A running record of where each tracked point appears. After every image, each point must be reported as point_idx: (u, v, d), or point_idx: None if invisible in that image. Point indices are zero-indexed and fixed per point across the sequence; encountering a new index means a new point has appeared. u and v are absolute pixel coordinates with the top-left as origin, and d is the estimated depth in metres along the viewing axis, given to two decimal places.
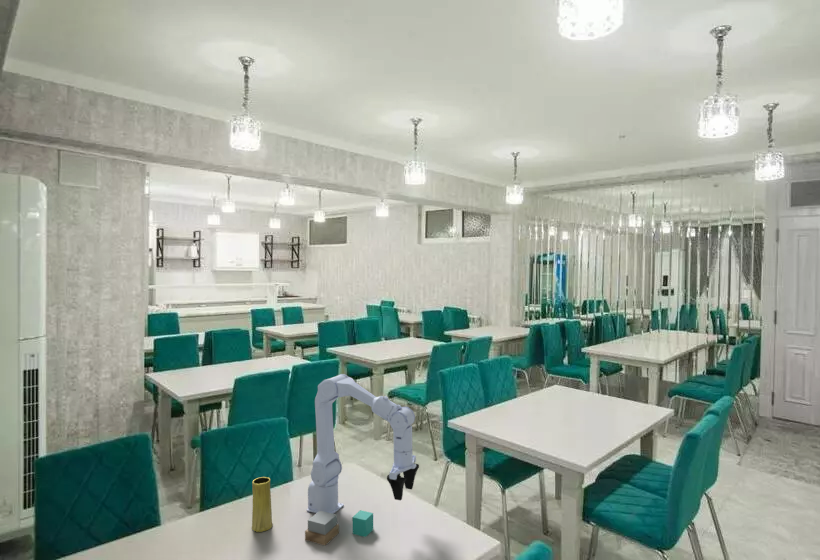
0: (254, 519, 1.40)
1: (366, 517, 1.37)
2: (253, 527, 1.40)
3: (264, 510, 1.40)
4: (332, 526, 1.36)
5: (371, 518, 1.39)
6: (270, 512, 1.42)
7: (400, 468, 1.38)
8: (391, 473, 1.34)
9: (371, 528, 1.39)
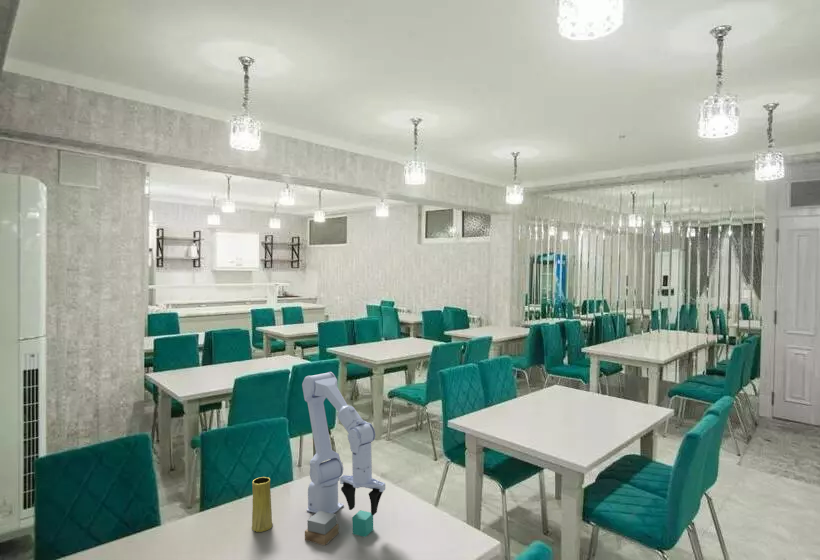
0: (254, 519, 1.40)
1: (366, 517, 1.37)
2: (253, 527, 1.40)
3: (264, 510, 1.40)
4: (332, 526, 1.36)
5: (371, 518, 1.39)
6: (270, 512, 1.42)
7: (352, 480, 1.39)
8: None
9: (371, 528, 1.39)
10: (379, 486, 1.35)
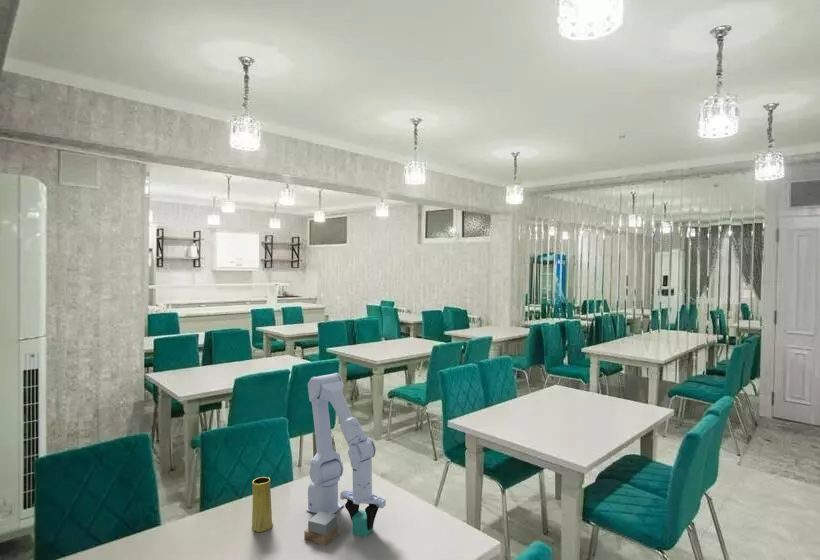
0: (254, 519, 1.40)
1: (366, 517, 1.37)
2: (253, 527, 1.40)
3: (264, 510, 1.40)
4: (332, 526, 1.36)
5: None
6: (270, 512, 1.42)
7: (352, 495, 1.39)
8: None
9: None
10: (379, 502, 1.35)
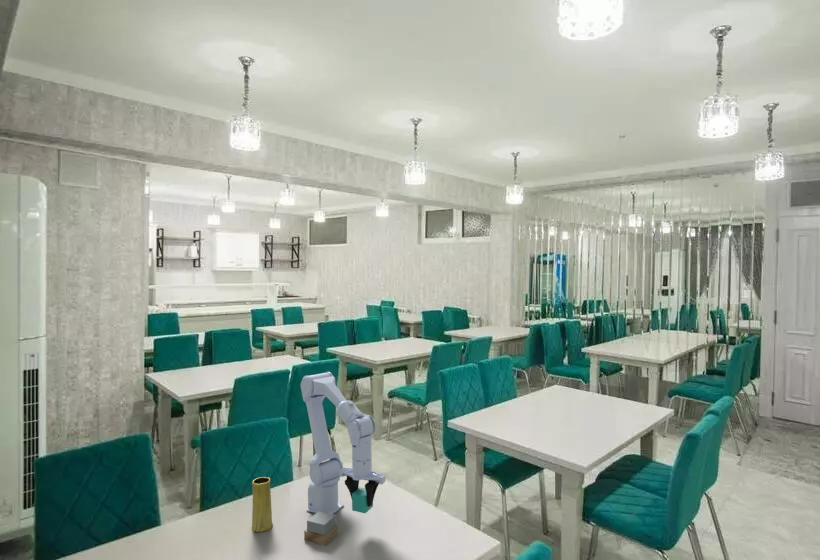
0: (254, 519, 1.40)
1: None
2: (253, 527, 1.40)
3: (264, 510, 1.40)
4: (331, 526, 1.36)
5: None
6: (270, 512, 1.42)
7: (352, 472, 1.39)
8: None
9: (371, 505, 1.39)
10: (379, 478, 1.35)
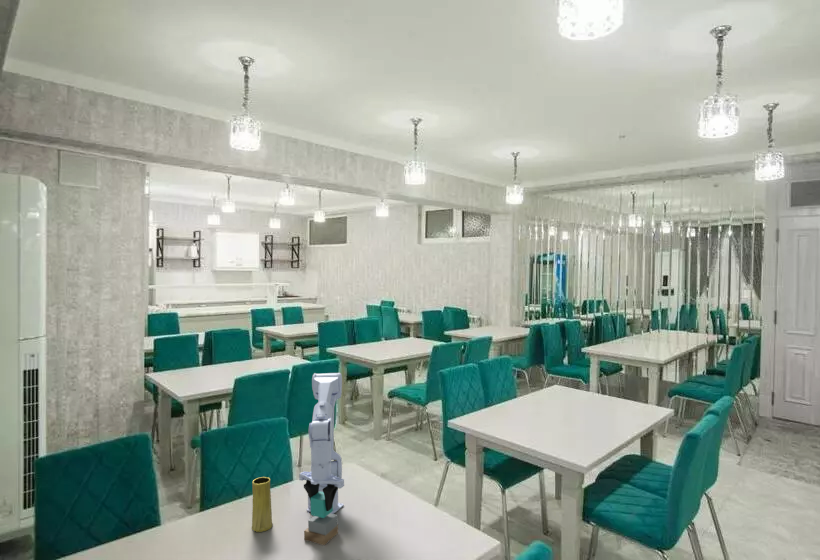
0: (254, 519, 1.40)
1: (324, 498, 1.35)
2: (253, 527, 1.40)
3: (264, 510, 1.40)
4: (333, 526, 1.36)
5: None
6: (270, 512, 1.42)
7: None
8: None
9: (330, 509, 1.36)
10: (337, 482, 1.33)
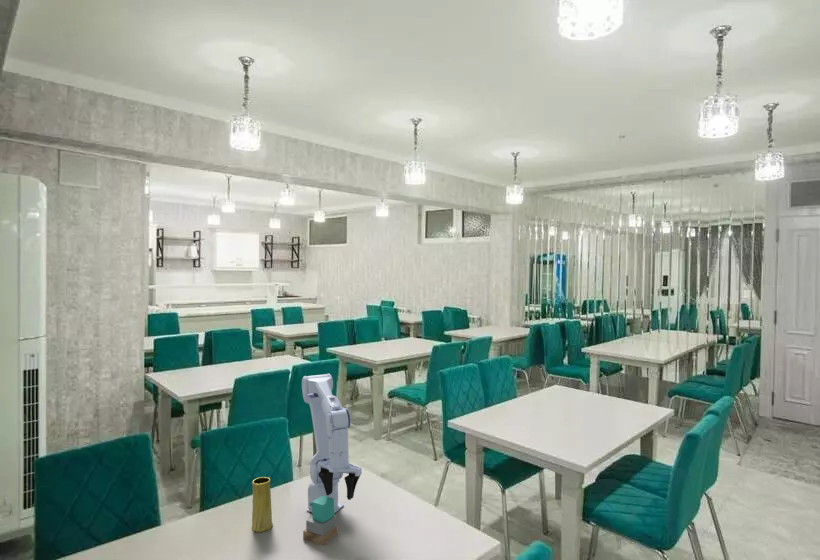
0: (254, 519, 1.40)
1: (325, 502, 1.35)
2: (253, 527, 1.40)
3: (264, 510, 1.40)
4: (330, 527, 1.35)
5: (331, 504, 1.36)
6: (270, 512, 1.42)
7: None
8: None
9: (331, 514, 1.36)
10: (355, 470, 1.36)
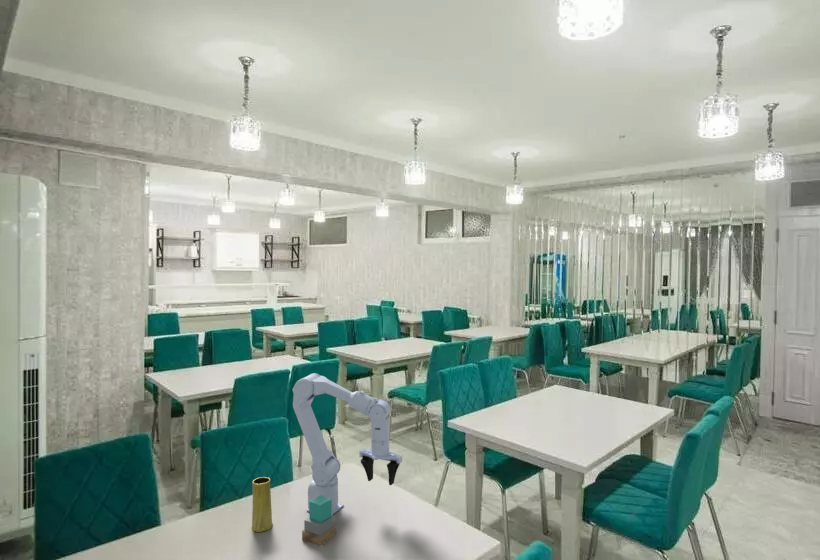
0: (254, 519, 1.40)
1: (322, 502, 1.35)
2: (253, 527, 1.40)
3: (264, 510, 1.40)
4: (328, 527, 1.35)
5: (328, 504, 1.36)
6: (270, 512, 1.42)
7: (371, 453, 1.49)
8: None
9: (328, 514, 1.36)
10: (396, 458, 1.45)
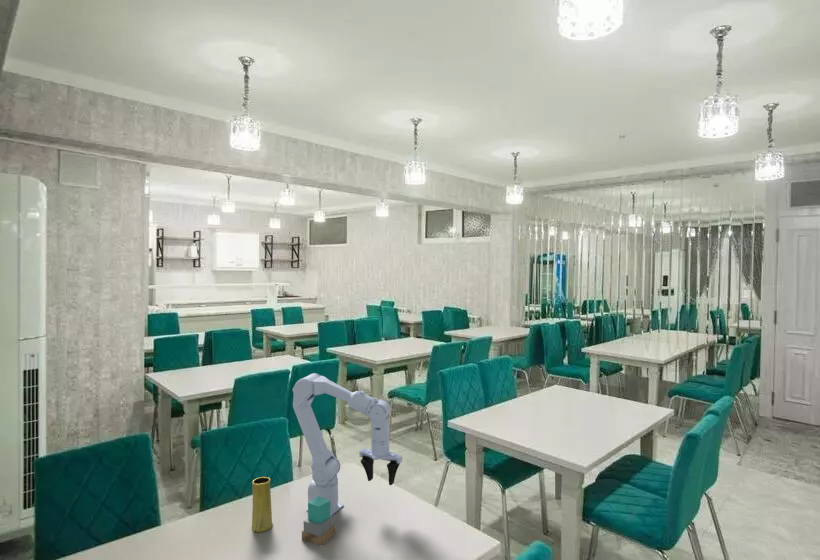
0: (254, 519, 1.40)
1: (321, 504, 1.34)
2: (253, 527, 1.40)
3: (264, 510, 1.40)
4: (328, 528, 1.35)
5: (327, 505, 1.36)
6: (270, 512, 1.42)
7: (371, 453, 1.49)
8: None
9: (327, 515, 1.36)
10: (396, 458, 1.45)
